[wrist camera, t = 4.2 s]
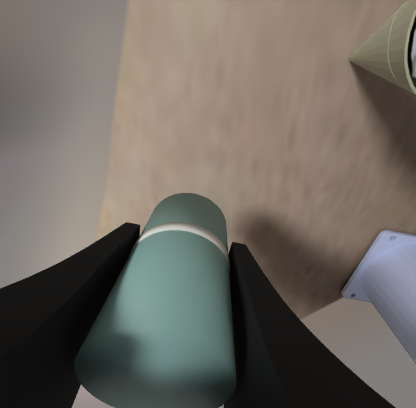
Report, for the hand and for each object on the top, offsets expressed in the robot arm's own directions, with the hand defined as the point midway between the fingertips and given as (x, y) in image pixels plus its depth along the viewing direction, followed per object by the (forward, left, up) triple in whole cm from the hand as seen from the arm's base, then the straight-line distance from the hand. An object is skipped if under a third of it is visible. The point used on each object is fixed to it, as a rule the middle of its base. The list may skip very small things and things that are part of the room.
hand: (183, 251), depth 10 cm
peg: (0, 0, -2) cm, 2 cm away
